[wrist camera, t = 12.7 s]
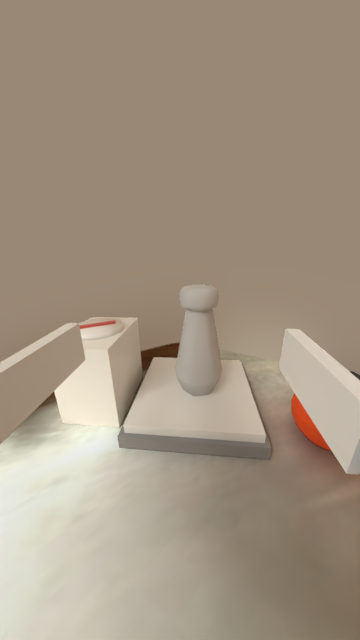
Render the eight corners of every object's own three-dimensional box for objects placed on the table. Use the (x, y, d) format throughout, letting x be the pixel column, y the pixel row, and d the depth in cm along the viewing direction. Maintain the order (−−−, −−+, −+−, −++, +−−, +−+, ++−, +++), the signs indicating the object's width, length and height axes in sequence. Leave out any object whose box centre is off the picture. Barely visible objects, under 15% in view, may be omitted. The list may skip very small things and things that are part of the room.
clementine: (398, 472, 19) (428, 409, 16) (334, 492, 17) (357, 426, 15) (322, 409, 26) (335, 359, 24) (273, 419, 25) (282, 367, 22)
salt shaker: (208, 369, 30) (210, 280, 26) (229, 394, 25) (237, 287, 21) (170, 378, 28) (166, 283, 24) (185, 406, 23) (183, 292, 19)
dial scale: (47, 441, 22) (20, 351, 19) (107, 366, 36) (98, 306, 33) (269, 459, 20) (286, 359, 16) (241, 372, 34) (247, 308, 30)
